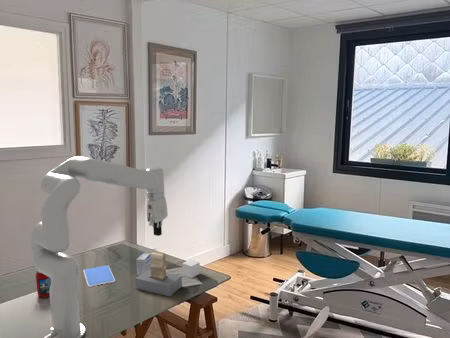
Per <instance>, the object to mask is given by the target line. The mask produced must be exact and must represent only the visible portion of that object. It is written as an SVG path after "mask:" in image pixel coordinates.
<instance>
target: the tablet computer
mask: <svg viewBox="0 0 450 338" xmlns="http://www.w3.org/2000/svg"><path fill="white" fill-rule="evenodd" d="M83 275H84V278H85V281H86V285H87V287H88V288H92V287H96V286H97V285H98V286H101V284H103V285H107V284H106V283H108V284H112V283H116V278H115V277H114V274H113V272H112V270H111V268H110V266H109V265H101V266H96V267H92V268H85V269H83Z"/></svg>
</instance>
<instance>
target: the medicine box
mask: <svg viewBox="0 0 450 338" xmlns="http://www.w3.org/2000/svg"><path fill="white" fill-rule="evenodd" d="M135 264H136V274H137V275H136V277H138V276H140V275H141V274H142V273H144V272H145V271H147V270H148V269H150V270H151V258H150V253H147V252H146V253H144V252H143V253H141V255H139V257H138V258H136V263H135Z"/></svg>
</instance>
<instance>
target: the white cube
mask: <svg viewBox="0 0 450 338" xmlns="http://www.w3.org/2000/svg"><path fill="white" fill-rule="evenodd" d="M200 263H201V262H199V261H197V260H194V259H188V260H186V261H184V262H182V265H181V266H182V275H184V276H185V275H186V277H188V278H190V277H191V279H192V278H194V277H196V276H198V275H200V273H201V267H200V266H201V264H200Z"/></svg>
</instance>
